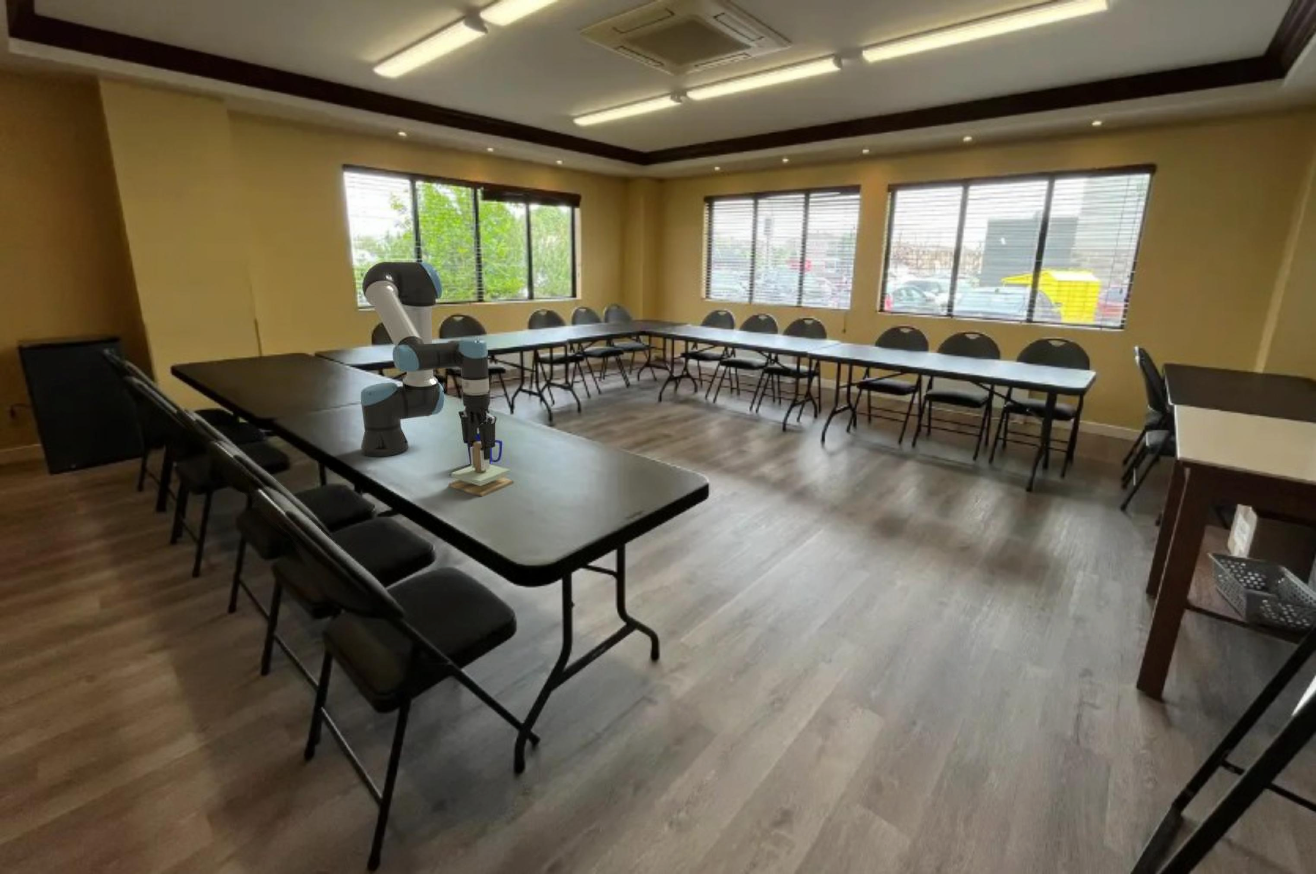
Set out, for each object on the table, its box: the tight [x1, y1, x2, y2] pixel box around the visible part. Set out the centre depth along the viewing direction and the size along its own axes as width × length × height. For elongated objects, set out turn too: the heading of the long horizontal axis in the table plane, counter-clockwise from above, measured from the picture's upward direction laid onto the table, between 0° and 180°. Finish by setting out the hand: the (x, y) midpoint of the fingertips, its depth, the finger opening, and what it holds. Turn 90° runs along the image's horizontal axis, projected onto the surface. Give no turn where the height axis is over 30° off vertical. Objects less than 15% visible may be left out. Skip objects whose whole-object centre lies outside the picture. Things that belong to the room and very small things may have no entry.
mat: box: [448, 477, 515, 497], centre depth 175 cm, size 14×13×1 cm
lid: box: [450, 441, 511, 486], centre depth 173 cm, size 12×12×10 cm
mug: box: [466, 432, 503, 465], centre depth 190 cm, size 8×12×10 cm
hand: (480, 467), depth 174 cm, fingers closed on lid, 3 cm apart
